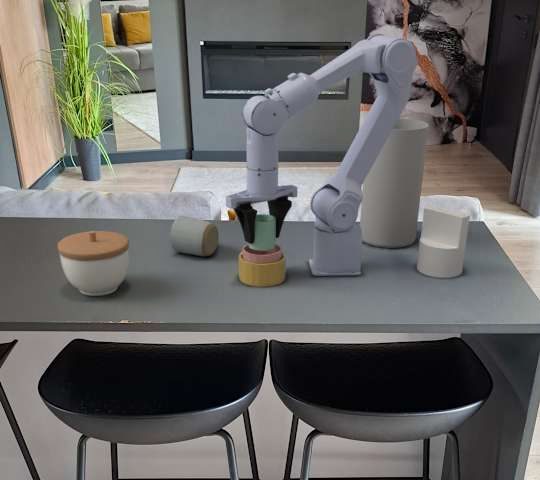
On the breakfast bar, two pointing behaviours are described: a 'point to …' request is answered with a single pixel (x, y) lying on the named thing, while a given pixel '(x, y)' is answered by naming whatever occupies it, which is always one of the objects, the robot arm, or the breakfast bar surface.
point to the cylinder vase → (395, 187)
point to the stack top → (262, 255)
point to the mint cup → (264, 233)
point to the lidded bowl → (95, 261)
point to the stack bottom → (262, 272)
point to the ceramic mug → (193, 236)
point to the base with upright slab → (442, 242)
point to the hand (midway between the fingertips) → (262, 239)
